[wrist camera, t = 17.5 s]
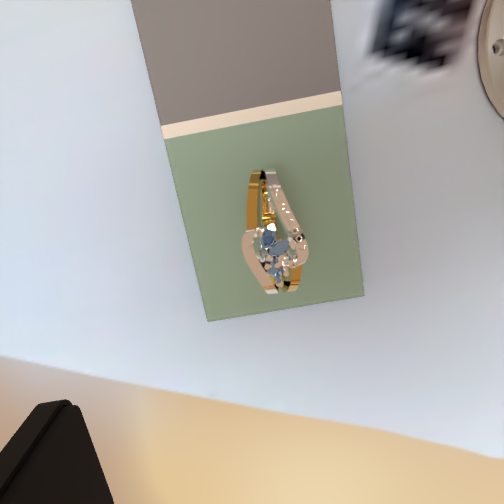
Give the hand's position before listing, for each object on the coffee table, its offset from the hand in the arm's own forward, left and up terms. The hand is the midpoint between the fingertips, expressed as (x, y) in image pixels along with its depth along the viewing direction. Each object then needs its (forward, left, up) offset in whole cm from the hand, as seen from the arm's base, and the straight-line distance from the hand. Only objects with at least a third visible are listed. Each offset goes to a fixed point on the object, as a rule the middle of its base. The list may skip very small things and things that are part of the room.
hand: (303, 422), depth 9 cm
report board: (0, -6, -20) cm, 21 cm away
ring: (0, 0, -20) cm, 20 cm away
